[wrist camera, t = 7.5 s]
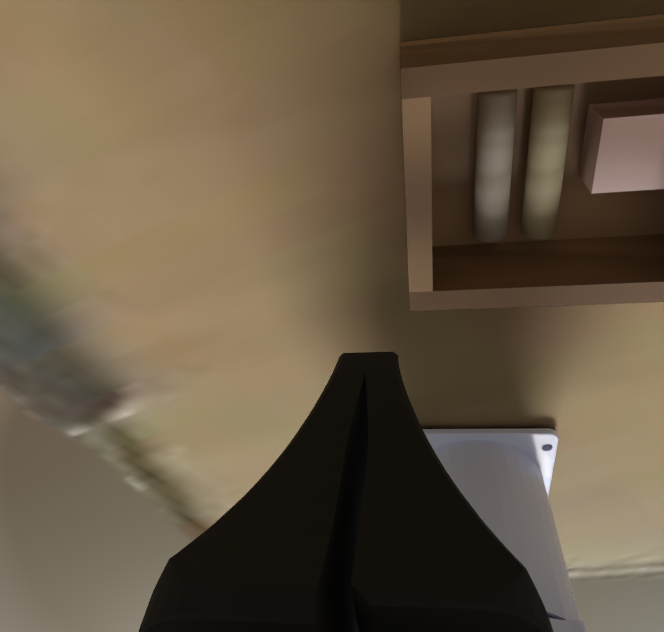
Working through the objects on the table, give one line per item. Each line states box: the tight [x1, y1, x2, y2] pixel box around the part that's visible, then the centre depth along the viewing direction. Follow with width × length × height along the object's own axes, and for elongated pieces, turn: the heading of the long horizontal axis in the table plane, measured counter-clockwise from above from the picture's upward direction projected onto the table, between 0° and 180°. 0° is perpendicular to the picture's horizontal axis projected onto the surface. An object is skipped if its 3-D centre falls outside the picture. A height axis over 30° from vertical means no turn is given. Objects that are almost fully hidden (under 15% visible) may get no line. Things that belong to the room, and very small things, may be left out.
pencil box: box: [400, 14, 664, 311], centre depth 18 cm, size 8×16×4 cm, turn 97°
